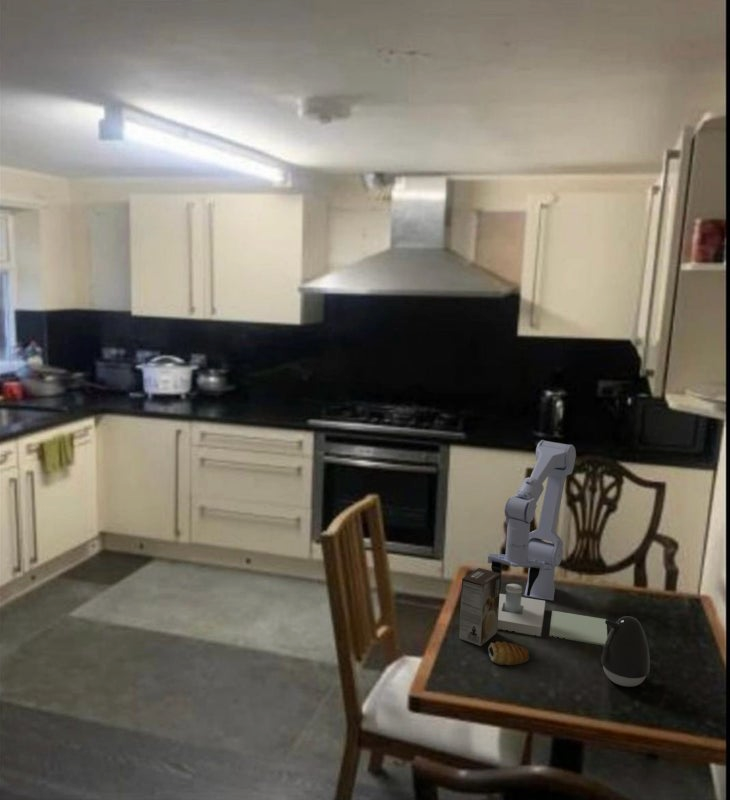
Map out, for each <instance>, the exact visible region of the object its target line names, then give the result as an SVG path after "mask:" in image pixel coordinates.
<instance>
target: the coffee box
mask: <svg viewBox="0 0 730 800" xmlns="http://www.w3.org/2000/svg"><path fill="white" fill-rule="evenodd" d="M500 579H501V580H502V573H501V574H500V573H496V572H493V571H492V570H488V569H485V568H481V567H478V568H476V569H475V570H473V571H471V572H470V573H468V574H467V575H465V576H464V577H463V578H462V579H461V594H460V595H461V596H460V598H461V599H460V615H459V633H458V634H459V635H458V636H459V637H458V639H460V640H462V641H466V642H468V643H471V644H474V645H475V646H476V645H477V646H479V647H482V646H483V645H484V644H486V642H488V641H489V640H491V638H493V637H494V636H495V635H496V634H497V633H498V629H497V627H498V612H499V595H500V594H501V593H500V592H501V589H500Z"/></svg>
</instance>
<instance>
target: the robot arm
mask: <svg viewBox="0 0 730 800" xmlns="http://www.w3.org/2000/svg"><path fill="white" fill-rule="evenodd" d="M576 457H577V453H576V447H575V446H574V445H573V444H566V443H561V442H554V441H548V440H545V439H541V440H540V441H539V442H538V443H537V445H536V448H535V458H536V459H535V460H536V463H535V465H534V467H533V469H532V472H531V474H530V477H525V478H524V479H523V481H522V483H521V485H520V486H519V488H518V490H517V491H516V493H515V495H514V496H512V497H510V498H508V499H507V500H506V503H505V508H504V517H505V525H506V526H507V529H506V541H505V554H503V553H502V554H501V553H498V554H495V553H488V555H487V564H491V567H490V568H491V571H493V572H496V573H500V574H501V575H502V573H503V571H502V569H503V565H504V566H505V565H507V566H510V567H513V568H514V567H515V568H519V567H520V568H525V569H528V573H527V583H526V585H525V591H524V597H526V598H532V599H538V600H544V601H554V599H555V597H554V596H555V592H556V591H555V590H556V589H555V588H556V587H555V585H554V584H555V583H554V581H555V571H556V570H555V569H556V568H557V567H558V566H559V565H561V562H562V559H563V553H564V550H563V549H564V548H563V547H564V541H563V539H562V538H561V537H560V536H559V534H557V532H556V530H557V524H558V519H559V515H560V514H559V513H560V507H561V504H562V498H563V492H564V488H565V483H566V479H567V477H568V476H569V475H572V474H573V471H574V467H575V463H576ZM546 479H547V480H546ZM545 481H546V485H545V487H544V482H545ZM544 488H545V490H544ZM543 492H544V495H543V500H542V507H541V510H540V511H541V512H540V515H539V516H540V517H539V521H538V526H537V528H536V529H534V530H533V531H530V530H531V522H532V521H533V519H534V517H535V514H536V510H537V506H538V505H537V502H538V501H539V498H540V497H541V495H542V494H543ZM501 589H502V578H501V579H500V590H501Z"/></svg>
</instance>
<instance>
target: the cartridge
mask: <svg viewBox="0 0 730 800" xmlns="http://www.w3.org/2000/svg"><path fill="white" fill-rule="evenodd" d="M523 591H524V589H523V586H522V585H520V584H517V583H508V584H506V585H505V594H506V601H505V611H504V612H510V613H516V614H520V607H521V597H522V592H523Z"/></svg>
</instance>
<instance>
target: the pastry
mask: <svg viewBox="0 0 730 800" xmlns="http://www.w3.org/2000/svg"><path fill="white" fill-rule="evenodd" d="M487 651H488V657H489V658H490V660H491V662H493V663H494V664H497V665H501V666H504V665H507V666H513V665H519V664H524V663H526V662H528V660H529V659H530V654H529V650H528V649H527V648H525V647H523V646H519V645H518V644H513V643H512V642H510V643H509V642H507V641H502V642H501V641H497V640H496V642H490V644H488V647H487Z"/></svg>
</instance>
